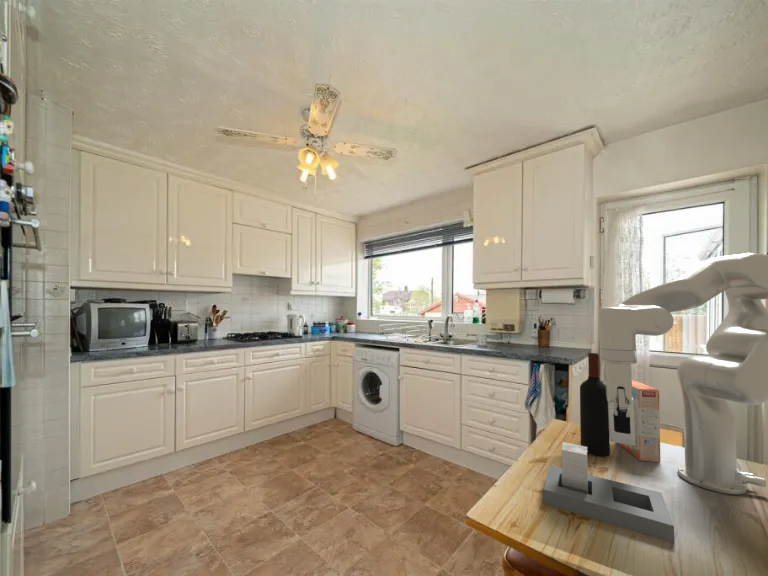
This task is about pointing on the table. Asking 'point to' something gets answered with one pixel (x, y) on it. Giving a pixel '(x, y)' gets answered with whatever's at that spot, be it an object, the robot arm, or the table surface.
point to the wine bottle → (594, 411)
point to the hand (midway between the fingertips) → (621, 427)
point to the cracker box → (645, 423)
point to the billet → (575, 467)
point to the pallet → (613, 504)
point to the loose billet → (617, 436)
